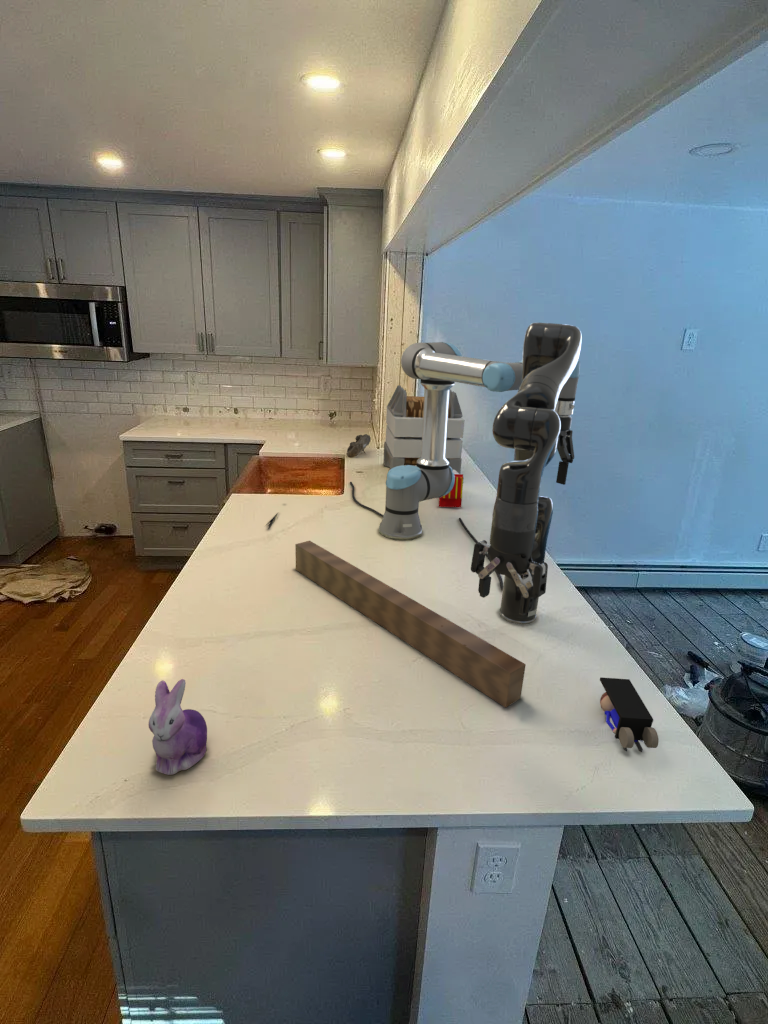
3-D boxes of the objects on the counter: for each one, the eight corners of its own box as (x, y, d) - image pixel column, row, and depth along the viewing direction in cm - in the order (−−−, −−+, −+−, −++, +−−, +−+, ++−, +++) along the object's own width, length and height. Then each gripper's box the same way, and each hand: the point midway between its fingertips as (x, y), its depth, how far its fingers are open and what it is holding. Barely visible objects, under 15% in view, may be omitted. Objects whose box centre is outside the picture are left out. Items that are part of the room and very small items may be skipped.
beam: (295, 569, 169) (295, 544, 167) (309, 565, 173) (309, 540, 170) (505, 708, 114) (510, 673, 111) (520, 698, 117) (525, 664, 115)
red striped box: (455, 465, 253) (467, 475, 224) (454, 495, 256) (465, 508, 227) (428, 465, 253) (437, 474, 224) (427, 494, 256) (435, 507, 226)
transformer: (382, 463, 289) (386, 382, 275) (445, 464, 293) (451, 384, 279) (390, 482, 257) (394, 392, 243) (460, 483, 261) (468, 394, 247)
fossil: (346, 440, 316) (367, 425, 311) (357, 453, 319) (378, 438, 314) (340, 453, 296) (362, 438, 291) (351, 468, 299) (374, 452, 294)
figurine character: (654, 765, 103) (622, 703, 116) (665, 735, 100) (631, 675, 113) (618, 764, 103) (590, 702, 116) (628, 734, 99) (598, 674, 113)
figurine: (156, 786, 92) (147, 710, 87) (149, 745, 100) (140, 673, 95) (215, 767, 96) (210, 694, 91) (204, 729, 105) (198, 660, 100)
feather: (285, 507, 224) (287, 503, 224) (267, 531, 198) (270, 526, 197) (281, 504, 224) (284, 500, 223) (263, 528, 197) (265, 524, 197)
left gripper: (544, 421, 148) (533, 498, 155) (594, 413, 164) (582, 483, 171) (520, 416, 153) (511, 491, 160) (571, 409, 169) (560, 477, 176)
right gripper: (562, 528, 96) (548, 612, 102) (492, 506, 105) (483, 584, 111) (539, 540, 91) (526, 627, 97) (467, 515, 100) (459, 596, 106)
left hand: (547, 487), depth 166 cm, fingers open, 13 cm apart
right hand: (503, 604), depth 104 cm, fingers open, 8 cm apart
